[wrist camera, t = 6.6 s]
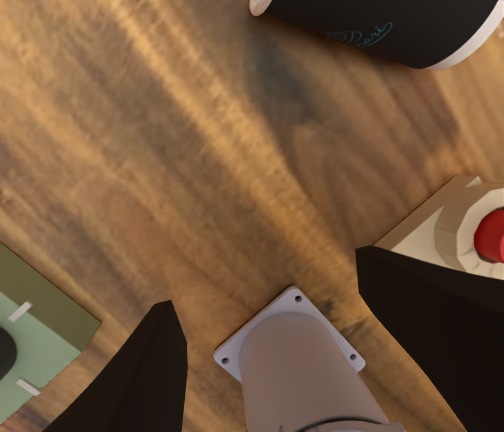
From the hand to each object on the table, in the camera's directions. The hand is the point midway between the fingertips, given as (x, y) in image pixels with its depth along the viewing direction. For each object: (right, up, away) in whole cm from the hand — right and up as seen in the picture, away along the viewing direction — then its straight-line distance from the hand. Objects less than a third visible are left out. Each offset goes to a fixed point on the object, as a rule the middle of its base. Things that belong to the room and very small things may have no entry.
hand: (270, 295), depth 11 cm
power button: (+15, +2, +7) cm, 17 cm away
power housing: (+14, 0, +11) cm, 18 cm away
